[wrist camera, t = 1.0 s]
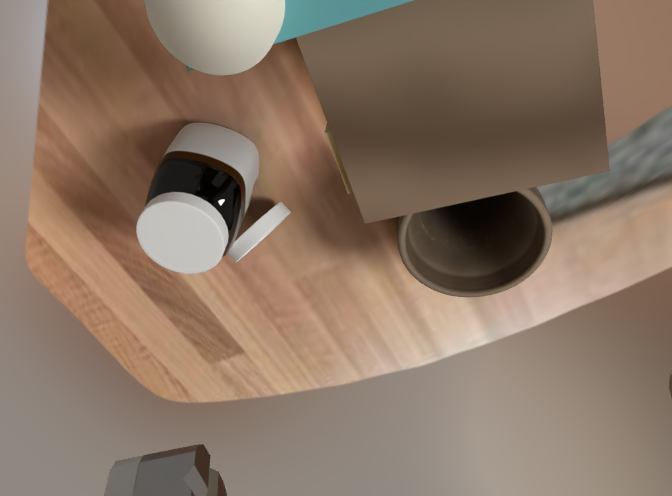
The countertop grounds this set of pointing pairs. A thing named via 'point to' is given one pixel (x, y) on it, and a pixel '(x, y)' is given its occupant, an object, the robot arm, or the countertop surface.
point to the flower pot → (477, 243)
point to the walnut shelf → (459, 100)
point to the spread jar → (203, 200)
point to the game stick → (244, 27)
